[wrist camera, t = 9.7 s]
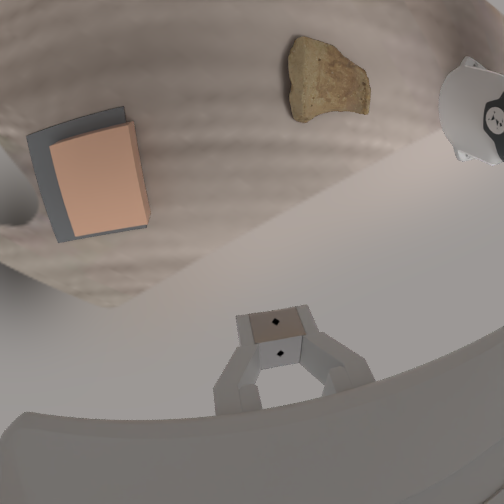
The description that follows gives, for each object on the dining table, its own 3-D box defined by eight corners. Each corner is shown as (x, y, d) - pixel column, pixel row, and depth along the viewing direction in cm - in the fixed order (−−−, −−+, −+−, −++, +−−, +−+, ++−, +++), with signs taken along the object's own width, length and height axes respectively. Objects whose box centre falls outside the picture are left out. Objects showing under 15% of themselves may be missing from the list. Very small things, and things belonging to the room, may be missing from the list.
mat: (123, 106, 29) (123, 106, 28) (146, 226, 38) (146, 227, 37) (27, 135, 27) (26, 136, 27) (58, 242, 36) (58, 243, 36)
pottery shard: (288, 121, 34) (365, 124, 34) (290, 125, 31) (376, 129, 30) (285, 40, 29) (364, 46, 28) (286, 34, 25) (375, 41, 24)
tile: (128, 125, 27) (49, 146, 26) (147, 224, 34) (75, 236, 33) (134, 120, 30) (60, 140, 28) (151, 212, 36) (82, 224, 35)
